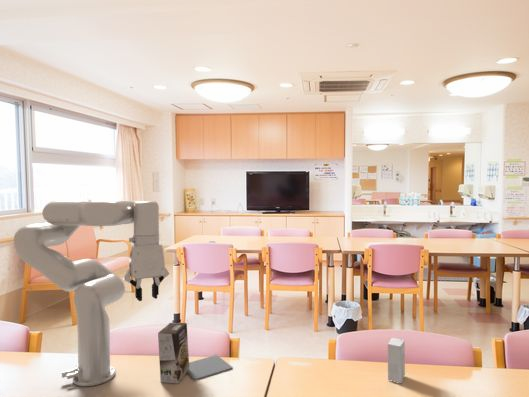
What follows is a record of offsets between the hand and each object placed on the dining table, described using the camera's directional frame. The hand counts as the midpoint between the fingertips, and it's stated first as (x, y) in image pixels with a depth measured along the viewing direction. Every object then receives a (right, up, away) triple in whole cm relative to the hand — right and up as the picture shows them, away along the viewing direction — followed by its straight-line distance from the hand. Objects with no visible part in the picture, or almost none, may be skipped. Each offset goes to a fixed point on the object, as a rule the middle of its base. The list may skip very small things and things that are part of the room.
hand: (147, 298), depth 116 cm
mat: (+17, -27, +12) cm, 34 cm away
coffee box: (+8, -27, +5) cm, 29 cm away
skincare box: (+79, -27, +3) cm, 84 cm away
